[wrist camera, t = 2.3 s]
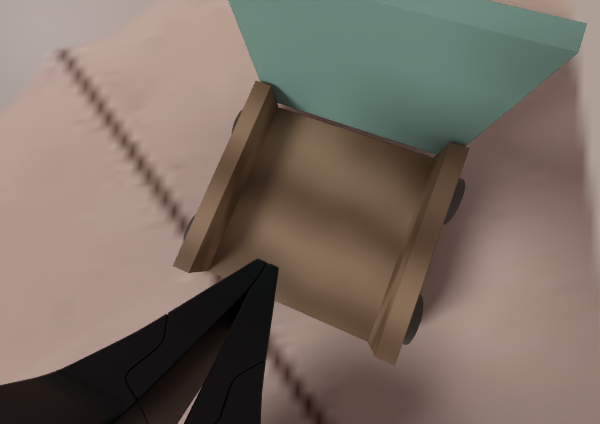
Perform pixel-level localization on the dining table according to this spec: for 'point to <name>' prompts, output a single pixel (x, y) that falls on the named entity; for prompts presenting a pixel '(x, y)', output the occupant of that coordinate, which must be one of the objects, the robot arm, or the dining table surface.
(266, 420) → the dining table surface
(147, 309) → the dining table surface
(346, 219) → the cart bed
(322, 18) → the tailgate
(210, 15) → the dining table surface
